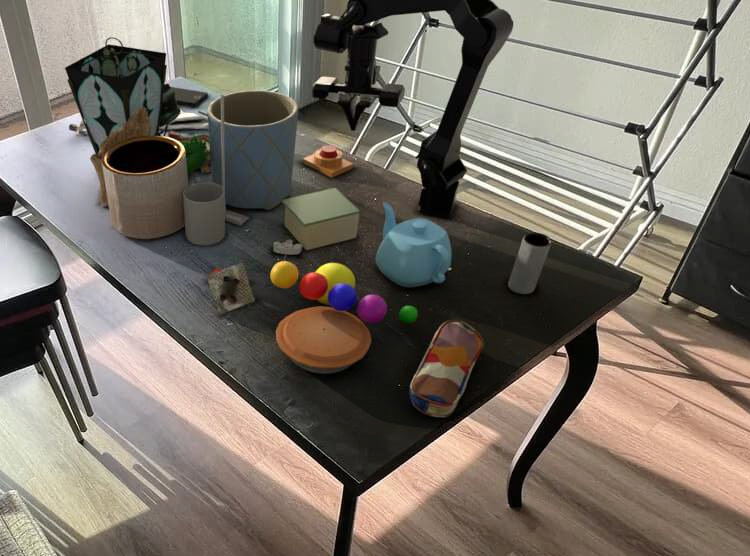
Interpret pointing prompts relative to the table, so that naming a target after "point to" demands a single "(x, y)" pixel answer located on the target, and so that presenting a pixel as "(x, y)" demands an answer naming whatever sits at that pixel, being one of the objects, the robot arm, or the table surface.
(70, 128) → the person figure
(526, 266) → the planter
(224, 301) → the tan textured box
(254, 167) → the planter
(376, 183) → the table surface
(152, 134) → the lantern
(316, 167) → the button housing
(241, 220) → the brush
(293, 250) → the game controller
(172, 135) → the denture
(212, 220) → the cup
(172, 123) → the cloth
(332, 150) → the button
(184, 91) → the cell phone
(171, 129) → the feather
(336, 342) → the pie
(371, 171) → the table surface
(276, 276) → the spheres
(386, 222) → the teapot
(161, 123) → the headphones
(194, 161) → the toy
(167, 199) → the planter
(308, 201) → the lid
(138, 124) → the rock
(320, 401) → the table surface
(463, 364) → the pencil case
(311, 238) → the cream storage box
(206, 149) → the decorative book
